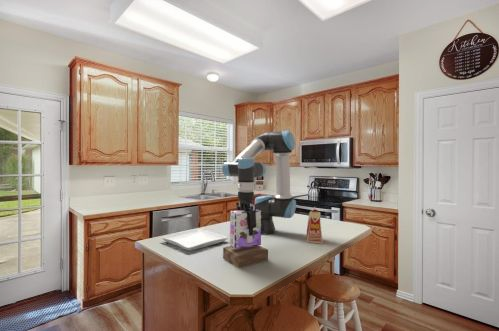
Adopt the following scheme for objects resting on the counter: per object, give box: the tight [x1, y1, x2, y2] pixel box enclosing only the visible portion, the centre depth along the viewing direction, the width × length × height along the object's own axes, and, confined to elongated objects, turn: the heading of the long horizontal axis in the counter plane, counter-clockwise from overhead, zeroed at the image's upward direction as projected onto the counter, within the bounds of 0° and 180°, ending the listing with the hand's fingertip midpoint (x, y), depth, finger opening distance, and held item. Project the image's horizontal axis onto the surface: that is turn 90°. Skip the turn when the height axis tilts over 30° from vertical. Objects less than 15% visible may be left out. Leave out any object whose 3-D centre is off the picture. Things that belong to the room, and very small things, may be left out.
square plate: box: [160, 228, 229, 251], centre depth 149 cm, size 27×27×4 cm
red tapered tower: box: [305, 206, 324, 244], centre depth 154 cm, size 9×9×20 cm
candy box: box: [229, 209, 262, 249], centre depth 124 cm, size 14×6×16 cm, turn 118°
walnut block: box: [222, 245, 269, 269], centre depth 124 cm, size 14×16×5 cm
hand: (245, 240), depth 124 cm, fingers closed on candy box, 6 cm apart
